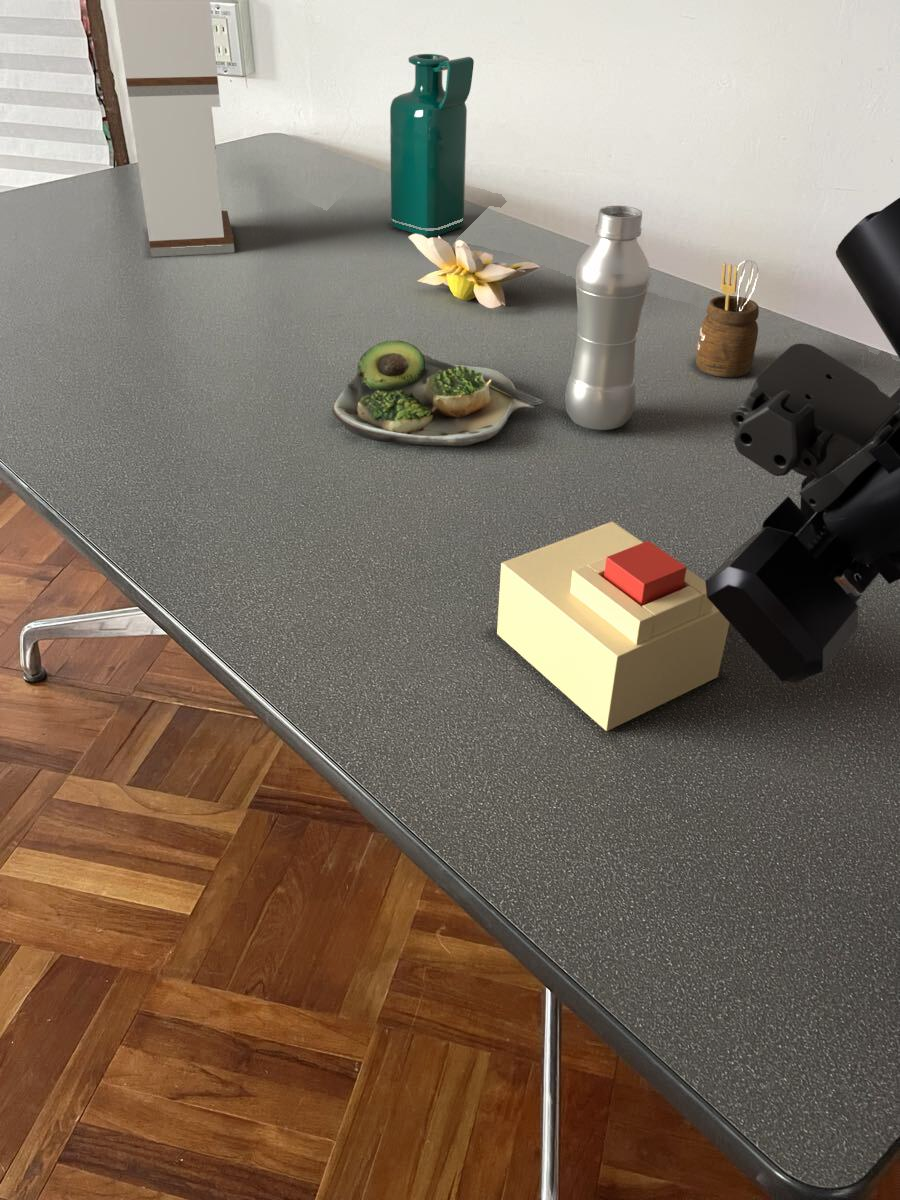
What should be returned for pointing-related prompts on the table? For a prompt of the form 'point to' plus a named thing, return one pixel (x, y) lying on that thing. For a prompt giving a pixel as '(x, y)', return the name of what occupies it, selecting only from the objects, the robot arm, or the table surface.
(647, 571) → the button
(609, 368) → the silver metal bottle
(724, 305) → the utensil holder
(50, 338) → the table surface
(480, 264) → the decorative flower
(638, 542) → the switch block
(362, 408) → the salad plate
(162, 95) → the striped white pillar
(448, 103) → the pitcher
